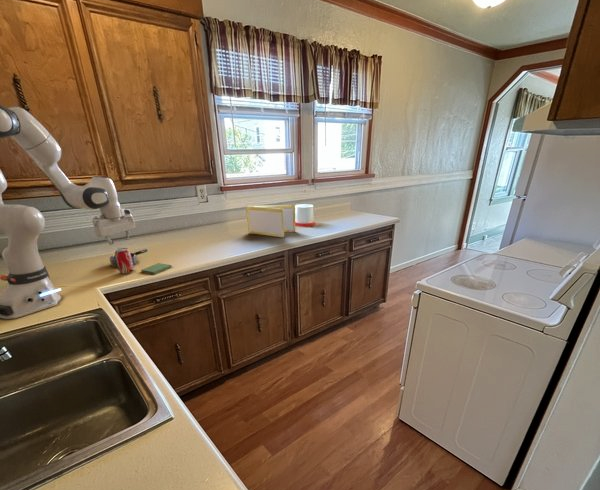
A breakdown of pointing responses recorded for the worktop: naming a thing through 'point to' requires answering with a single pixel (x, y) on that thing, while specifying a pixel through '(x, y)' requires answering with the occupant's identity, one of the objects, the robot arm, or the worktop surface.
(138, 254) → the pan handle
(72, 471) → the worktop surface
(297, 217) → the container
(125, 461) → the worktop surface
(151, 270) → the green flat block
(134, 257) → the pan
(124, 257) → the soda can
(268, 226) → the white yellow panel stand
